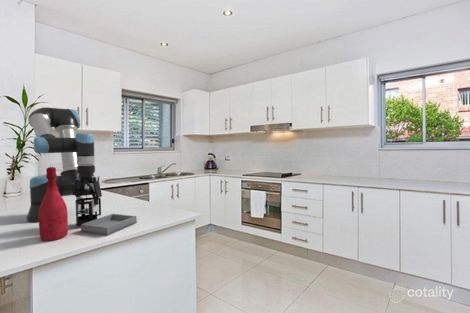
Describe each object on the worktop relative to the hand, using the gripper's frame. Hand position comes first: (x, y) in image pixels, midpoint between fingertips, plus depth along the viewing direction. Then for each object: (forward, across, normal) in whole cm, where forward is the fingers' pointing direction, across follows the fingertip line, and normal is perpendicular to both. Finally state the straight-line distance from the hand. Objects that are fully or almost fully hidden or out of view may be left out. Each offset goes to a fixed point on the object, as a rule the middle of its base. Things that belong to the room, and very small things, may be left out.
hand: (87, 210), depth 121 cm
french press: (+7, 0, 0) cm, 7 cm away
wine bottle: (+7, +2, -17) cm, 19 cm away
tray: (+7, +14, 0) cm, 16 cm away
